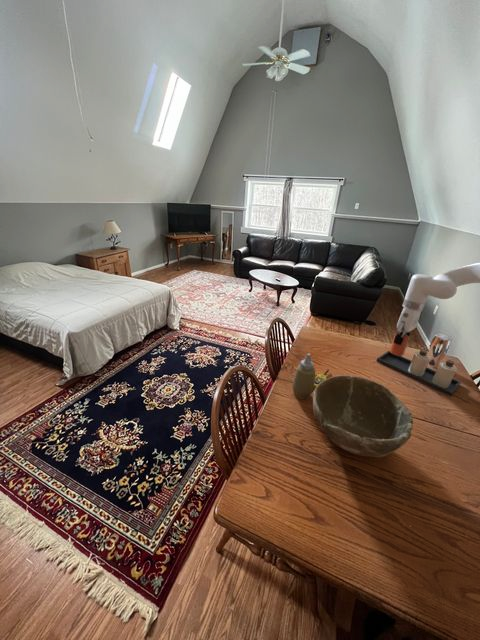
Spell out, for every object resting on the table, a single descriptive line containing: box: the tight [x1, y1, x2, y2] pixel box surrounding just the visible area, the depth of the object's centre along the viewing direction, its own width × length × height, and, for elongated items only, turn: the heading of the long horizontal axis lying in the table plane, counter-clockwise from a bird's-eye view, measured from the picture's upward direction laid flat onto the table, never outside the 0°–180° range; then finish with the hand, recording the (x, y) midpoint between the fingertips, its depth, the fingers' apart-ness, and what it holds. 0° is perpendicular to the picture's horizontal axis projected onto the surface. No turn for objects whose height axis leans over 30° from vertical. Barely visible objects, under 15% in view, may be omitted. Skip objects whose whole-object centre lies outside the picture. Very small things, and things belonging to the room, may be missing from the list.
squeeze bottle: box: [291, 353, 316, 400], centre depth 98 cm, size 8×8×18 cm
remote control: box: [314, 369, 330, 390], centre depth 111 cm, size 5×2×15 cm
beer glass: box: [427, 332, 454, 369], centre depth 121 cm, size 7×7×15 cm
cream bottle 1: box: [408, 348, 430, 376], centre depth 115 cm, size 6×6×11 cm
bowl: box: [312, 374, 414, 458], centre depth 81 cm, size 28×27×15 cm
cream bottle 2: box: [432, 359, 458, 388], centre depth 109 cm, size 6×6×11 cm
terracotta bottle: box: [389, 331, 411, 357], centre depth 120 cm, size 6×6×11 cm
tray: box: [376, 350, 462, 397], centre depth 117 cm, size 30×12×2 cm, turn 39°
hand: (400, 341), depth 119 cm, fingers closed on terracotta bottle, 5 cm apart
